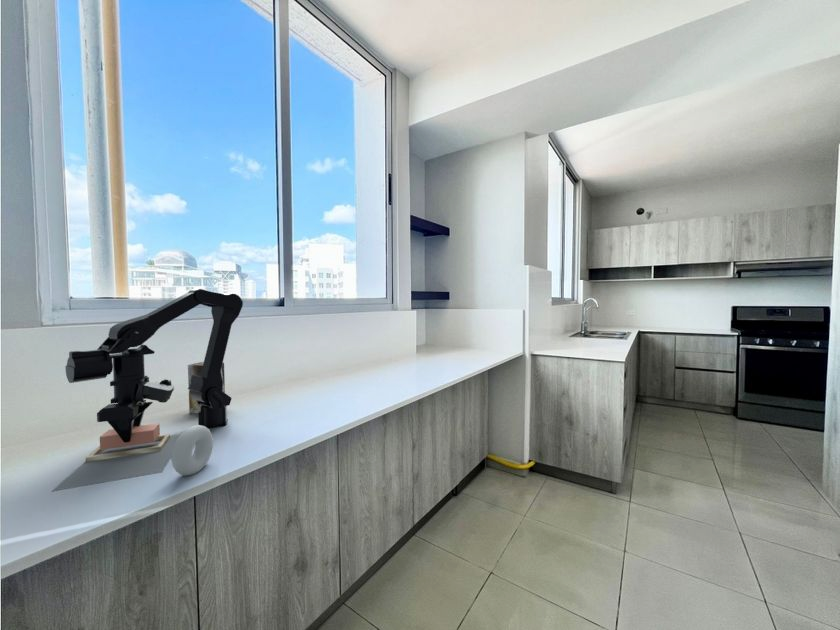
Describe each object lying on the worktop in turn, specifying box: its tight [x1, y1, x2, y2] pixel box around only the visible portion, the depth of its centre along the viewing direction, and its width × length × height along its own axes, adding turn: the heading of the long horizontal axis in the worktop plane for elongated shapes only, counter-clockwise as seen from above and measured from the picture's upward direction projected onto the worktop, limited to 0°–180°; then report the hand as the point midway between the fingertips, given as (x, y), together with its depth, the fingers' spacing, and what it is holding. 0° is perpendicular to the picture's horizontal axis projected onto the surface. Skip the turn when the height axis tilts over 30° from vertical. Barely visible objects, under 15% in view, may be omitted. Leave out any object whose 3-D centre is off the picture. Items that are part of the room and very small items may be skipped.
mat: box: [51, 433, 182, 492], centre depth 77 cm, size 17×23×1 cm
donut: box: [171, 424, 214, 476], centre depth 71 cm, size 10×4×10 cm, turn 178°
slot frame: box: [85, 433, 171, 462], centre depth 81 cm, size 14×9×1 cm, turn 115°
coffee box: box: [187, 361, 226, 414], centre depth 112 cm, size 9×6×16 cm
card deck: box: [99, 423, 161, 450], centre depth 81 cm, size 5×10×3 cm, turn 115°
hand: (131, 437), depth 81 cm, fingers closed on card deck, 5 cm apart
